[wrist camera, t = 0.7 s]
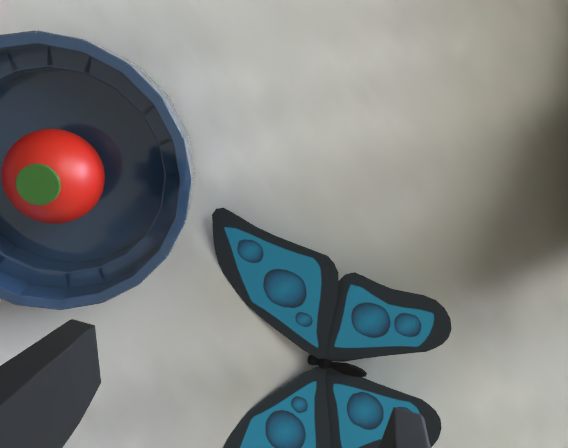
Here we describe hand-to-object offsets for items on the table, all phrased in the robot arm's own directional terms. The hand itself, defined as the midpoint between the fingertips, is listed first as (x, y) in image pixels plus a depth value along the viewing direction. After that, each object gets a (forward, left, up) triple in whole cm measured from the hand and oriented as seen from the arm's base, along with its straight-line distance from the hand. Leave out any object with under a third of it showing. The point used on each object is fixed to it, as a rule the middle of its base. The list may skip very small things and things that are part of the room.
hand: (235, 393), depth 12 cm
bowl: (-7, +6, -20) cm, 22 cm away
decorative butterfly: (+1, -12, -21) cm, 24 cm away
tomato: (-7, +6, -20) cm, 22 cm away
